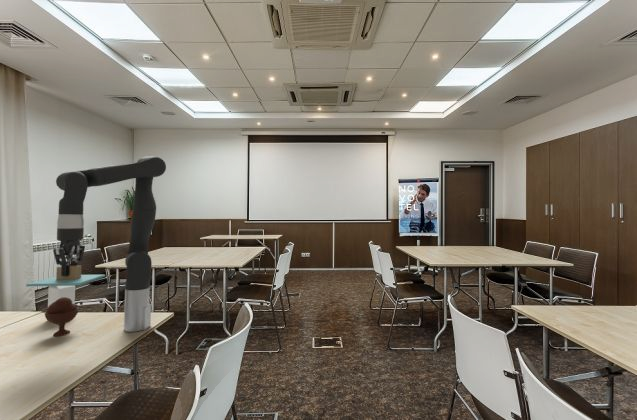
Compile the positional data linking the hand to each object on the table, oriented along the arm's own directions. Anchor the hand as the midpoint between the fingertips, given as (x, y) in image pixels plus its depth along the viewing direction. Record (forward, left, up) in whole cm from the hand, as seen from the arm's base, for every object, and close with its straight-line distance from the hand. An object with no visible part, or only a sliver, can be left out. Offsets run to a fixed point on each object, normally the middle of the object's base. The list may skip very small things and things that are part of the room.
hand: (69, 274), depth 112 cm
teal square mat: (0, 0, -2) cm, 2 cm away
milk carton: (+26, -38, -27) cm, 53 cm away
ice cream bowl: (+13, -18, -27) cm, 35 cm away
